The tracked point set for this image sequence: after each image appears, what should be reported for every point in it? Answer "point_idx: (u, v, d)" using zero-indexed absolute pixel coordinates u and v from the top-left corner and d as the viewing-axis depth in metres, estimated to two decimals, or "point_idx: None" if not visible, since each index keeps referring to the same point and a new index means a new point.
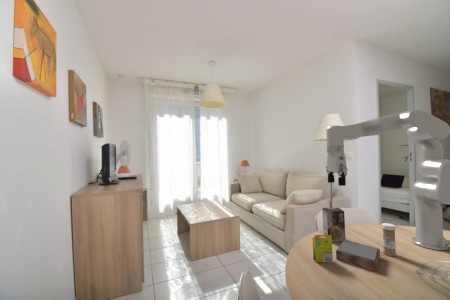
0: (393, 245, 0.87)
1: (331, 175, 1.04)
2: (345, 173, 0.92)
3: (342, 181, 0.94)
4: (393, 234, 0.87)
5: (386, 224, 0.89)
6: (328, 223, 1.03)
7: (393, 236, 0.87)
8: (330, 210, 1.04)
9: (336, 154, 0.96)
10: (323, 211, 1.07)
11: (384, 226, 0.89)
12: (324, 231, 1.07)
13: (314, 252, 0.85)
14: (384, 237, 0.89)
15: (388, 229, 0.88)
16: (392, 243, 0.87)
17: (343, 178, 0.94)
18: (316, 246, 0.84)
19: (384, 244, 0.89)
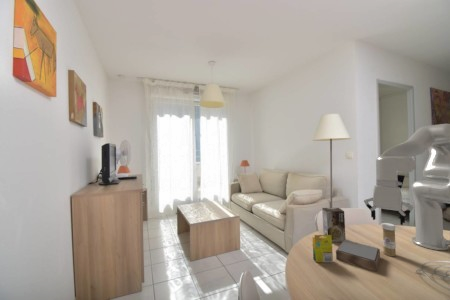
0: (393, 245, 0.87)
1: (374, 211, 0.92)
2: None
3: (404, 220, 0.85)
4: (393, 234, 0.87)
5: (386, 224, 0.89)
6: (328, 223, 1.03)
7: (393, 236, 0.87)
8: (331, 210, 1.04)
9: (398, 190, 0.86)
10: (323, 211, 1.07)
11: (384, 226, 0.89)
12: (324, 231, 1.07)
13: (314, 252, 0.85)
14: (384, 237, 0.89)
15: (388, 229, 0.88)
16: (392, 243, 0.87)
17: (404, 216, 0.85)
18: (316, 246, 0.84)
19: (384, 244, 0.89)
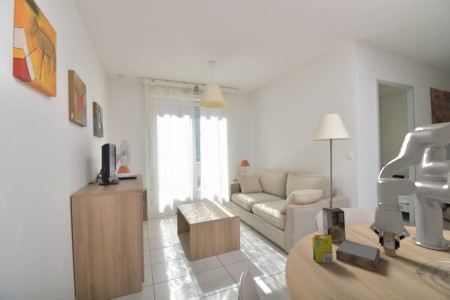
0: (393, 245, 0.87)
1: (382, 237, 0.91)
2: None
3: (399, 245, 0.87)
4: (393, 234, 0.87)
5: None
6: (328, 223, 1.03)
7: (393, 236, 0.87)
8: (330, 210, 1.04)
9: (399, 214, 0.85)
10: (323, 211, 1.07)
11: None
12: (324, 231, 1.07)
13: (314, 252, 0.85)
14: (384, 237, 0.89)
15: (388, 229, 0.88)
16: (392, 243, 0.87)
17: (399, 241, 0.87)
18: (316, 246, 0.84)
19: (384, 244, 0.89)
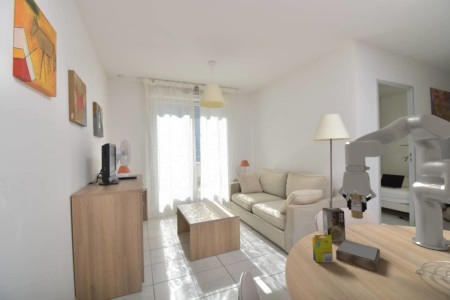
0: (360, 207, 0.85)
1: (350, 201, 0.88)
2: (371, 198, 0.83)
3: (366, 207, 0.84)
4: (360, 196, 0.85)
5: None
6: (328, 223, 1.03)
7: (360, 198, 0.85)
8: (331, 210, 1.04)
9: (365, 174, 0.83)
10: (323, 211, 1.07)
11: None
12: (324, 231, 1.07)
13: (314, 252, 0.85)
14: (351, 200, 0.87)
15: (355, 191, 0.85)
16: (359, 206, 0.85)
17: (366, 203, 0.85)
18: (316, 246, 0.84)
19: (351, 207, 0.87)
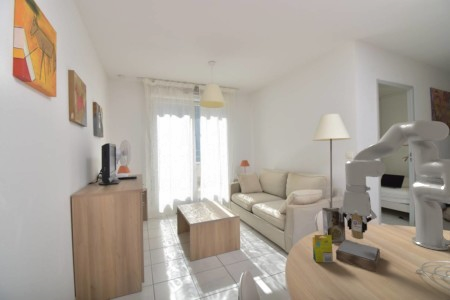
0: (360, 227, 0.84)
1: None
2: None
3: (366, 227, 0.84)
4: (360, 216, 0.85)
5: None
6: (328, 223, 1.03)
7: (360, 218, 0.85)
8: (330, 210, 1.04)
9: (366, 195, 0.83)
10: (323, 211, 1.07)
11: None
12: (324, 231, 1.07)
13: (314, 252, 0.85)
14: (352, 220, 0.87)
15: (355, 211, 0.85)
16: (359, 226, 0.84)
17: (366, 223, 0.84)
18: (316, 246, 0.84)
19: (352, 227, 0.87)
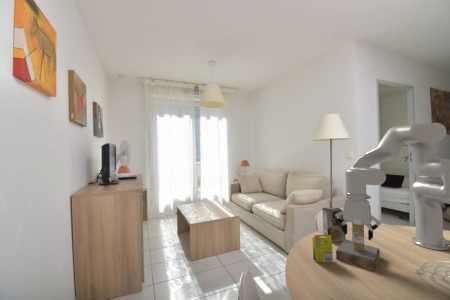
0: (361, 240, 0.84)
1: (346, 225, 0.89)
2: None
3: (372, 235, 0.83)
4: (362, 228, 0.84)
5: None
6: (328, 223, 1.03)
7: (362, 230, 0.84)
8: (330, 210, 1.04)
9: (366, 203, 0.83)
10: (323, 211, 1.07)
11: (353, 220, 0.86)
12: (324, 231, 1.07)
13: (314, 252, 0.85)
14: (353, 232, 0.86)
15: (357, 223, 0.84)
16: (361, 238, 0.84)
17: (372, 231, 0.83)
18: (316, 246, 0.84)
19: (353, 239, 0.86)
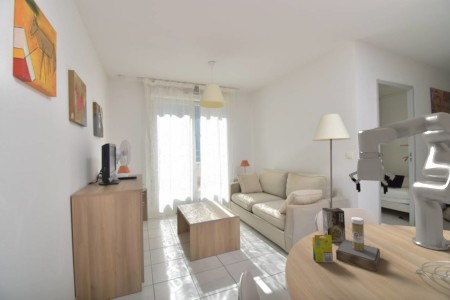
0: (361, 239, 0.84)
1: (359, 183, 0.95)
2: None
3: (387, 189, 0.87)
4: (361, 228, 0.85)
5: (355, 218, 0.87)
6: (328, 223, 1.03)
7: (361, 230, 0.85)
8: (330, 210, 1.04)
9: (379, 160, 0.88)
10: (323, 211, 1.07)
11: (353, 220, 0.86)
12: (324, 231, 1.07)
13: (314, 252, 0.85)
14: (353, 231, 0.87)
15: (356, 223, 0.85)
16: (360, 238, 0.84)
17: None
18: (316, 246, 0.84)
19: (353, 239, 0.87)
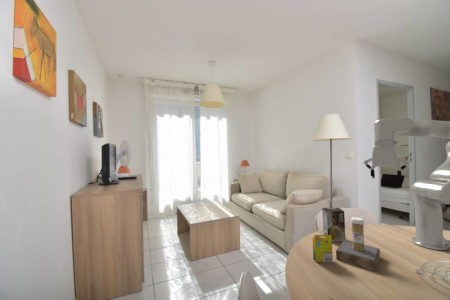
0: (361, 239, 0.84)
1: None
2: (406, 166, 0.92)
3: None
4: (361, 228, 0.85)
5: (355, 218, 0.87)
6: (328, 223, 1.03)
7: (361, 230, 0.84)
8: (330, 210, 1.04)
9: (395, 147, 0.93)
10: (323, 211, 1.07)
11: (353, 220, 0.86)
12: (324, 231, 1.07)
13: (314, 252, 0.85)
14: (353, 231, 0.87)
15: (356, 223, 0.85)
16: (360, 238, 0.84)
17: None
18: (316, 246, 0.84)
19: (353, 239, 0.86)
